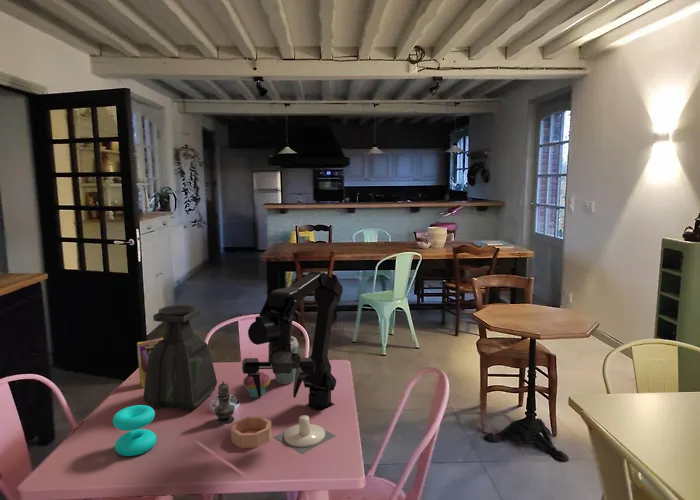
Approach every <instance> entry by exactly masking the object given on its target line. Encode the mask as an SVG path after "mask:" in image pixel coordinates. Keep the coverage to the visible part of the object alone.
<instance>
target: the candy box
mask: <svg viewBox="0 0 700 500" xmlns="http://www.w3.org/2000/svg"><path fill="white" fill-rule="evenodd" d="M161 340H163V337H159V338H155V339H154V338H153V339H148V340H145V341H138V342H136V347H137V348H136V349H137V359H138V361H137V362H138V373H139V384H140V386H141V387H142V388H143V389H144V388H145V380H146V373H147V365H148V357H149V355H150V352H151V350H152V349H153V347H154V346H155V345H156V344H157V343H158V342H159V341H161Z"/></svg>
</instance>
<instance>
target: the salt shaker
mask: <svg viewBox="0 0 700 500" xmlns="http://www.w3.org/2000/svg"><path fill="white" fill-rule="evenodd" d="M217 387H218V395H217V399H218V405H217V406H216V407H214V409H213V412H215V413H214V414H215V416H216V417H217V418H216V420H215V423H216V424H217V425H220V426H221V425H222V426H225V425H228V424H232V423H234V422H235V417H234V416H233V414H234V413H235V409H236V407H235V405H234V404H232V403H231V402H230V397H231V394H230V390H229V388H230V387H229V385H228V383H225V381H224V380H223V381H222V382H221V384H219V385H218V386H217Z"/></svg>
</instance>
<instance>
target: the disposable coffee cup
mask: <svg viewBox="0 0 700 500" xmlns="http://www.w3.org/2000/svg"><path fill="white" fill-rule="evenodd" d="M268 349H269V343H268ZM291 353H292V354H293V353H299V342H298V340H297V338H296V337H294V336H292V335H291ZM295 372H296V369H292V373H290V374H286V373H279V374H274V378H275V381H276V383H278V384H279V385H280V384H281V385H287V384H291V383H294V381H295Z"/></svg>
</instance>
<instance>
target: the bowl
mask: <svg viewBox="0 0 700 500" xmlns="http://www.w3.org/2000/svg"><path fill="white" fill-rule="evenodd" d="M272 429H273V428H272V421H271V420H270V419H268V418H266V417H264V416H245V417H244V418H241V419H239V420H236V421H233V425H232V427H231V429H230V431H231V432H230V433H231V435H230V437H231V443H232V444H234V445H235V446H237V447H238V448H240V449H247V448H248V449H251V448H258V447H259V448H260V447H261V446H263V445H265V444H267V443H269V442H270V441H271V437H272Z"/></svg>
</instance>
